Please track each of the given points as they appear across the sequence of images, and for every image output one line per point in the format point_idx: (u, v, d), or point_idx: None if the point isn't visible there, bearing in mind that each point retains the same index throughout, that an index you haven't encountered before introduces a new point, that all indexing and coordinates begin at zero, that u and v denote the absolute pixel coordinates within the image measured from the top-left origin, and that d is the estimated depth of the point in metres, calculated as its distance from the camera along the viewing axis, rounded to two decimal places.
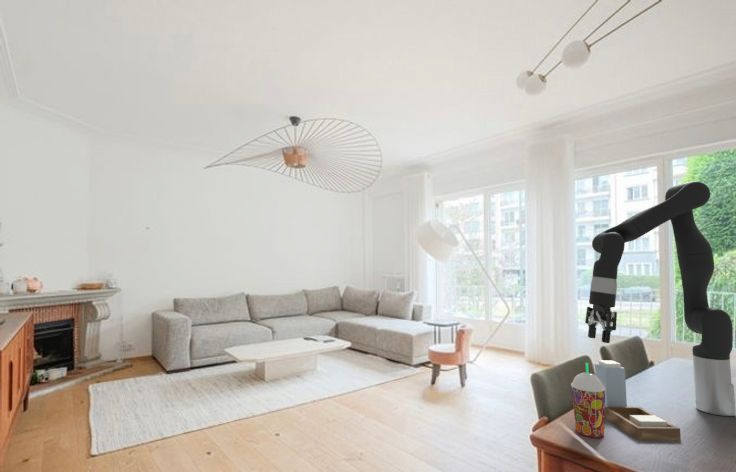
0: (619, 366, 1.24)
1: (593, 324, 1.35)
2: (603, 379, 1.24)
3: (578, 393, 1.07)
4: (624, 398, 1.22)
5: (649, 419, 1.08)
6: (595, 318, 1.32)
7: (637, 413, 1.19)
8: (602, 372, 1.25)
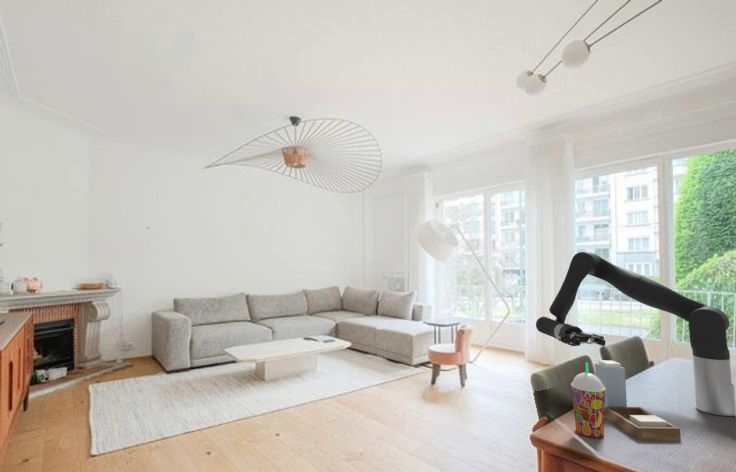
0: (619, 366, 1.24)
1: (596, 339, 1.41)
2: (603, 379, 1.24)
3: (578, 393, 1.07)
4: (624, 398, 1.22)
5: (649, 419, 1.08)
6: (583, 341, 1.43)
7: (637, 413, 1.19)
8: (602, 372, 1.25)
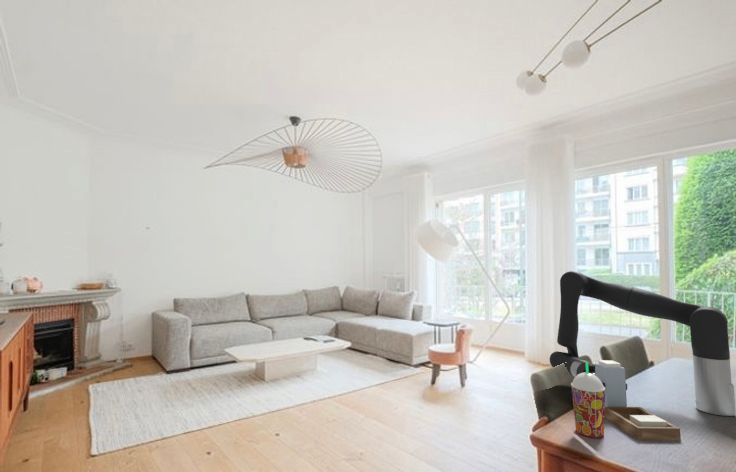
0: (619, 366, 1.24)
1: None
2: (603, 379, 1.24)
3: (578, 393, 1.07)
4: (624, 398, 1.22)
5: (649, 419, 1.08)
6: None
7: (637, 413, 1.19)
8: (602, 372, 1.25)
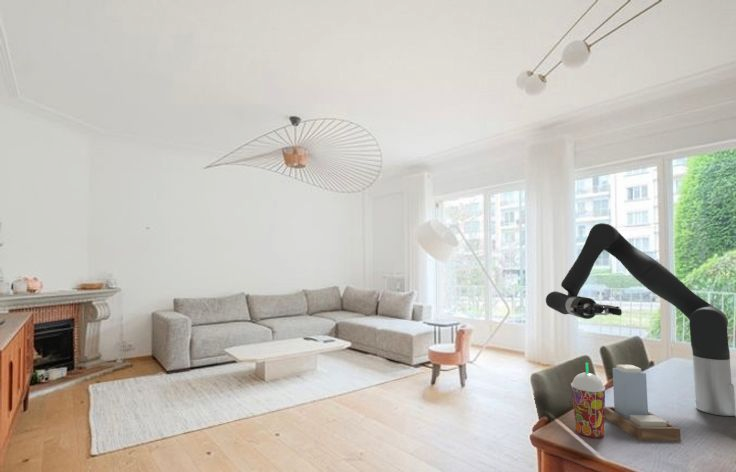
0: (639, 371, 1.14)
1: (611, 310, 1.32)
2: (622, 385, 1.14)
3: (578, 393, 1.07)
4: (645, 406, 1.13)
5: (649, 419, 1.08)
6: (597, 313, 1.34)
7: None
8: (621, 378, 1.15)
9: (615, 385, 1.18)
